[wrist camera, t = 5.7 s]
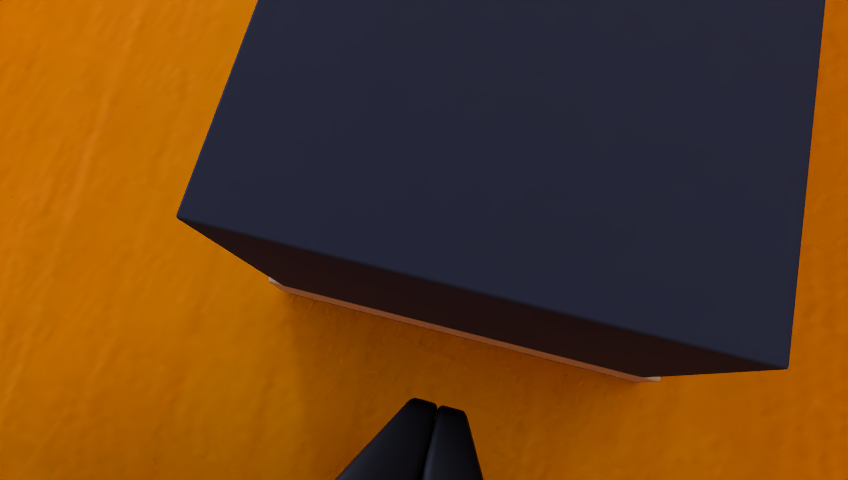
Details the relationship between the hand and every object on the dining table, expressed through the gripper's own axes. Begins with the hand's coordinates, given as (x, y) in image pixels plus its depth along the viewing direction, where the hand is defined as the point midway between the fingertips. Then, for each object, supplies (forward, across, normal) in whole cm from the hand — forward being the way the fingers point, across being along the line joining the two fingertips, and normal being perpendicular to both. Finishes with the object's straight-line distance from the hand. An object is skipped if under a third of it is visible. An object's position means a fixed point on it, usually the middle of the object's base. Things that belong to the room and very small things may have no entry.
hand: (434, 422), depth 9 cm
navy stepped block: (+13, 0, -4) cm, 14 cm away
